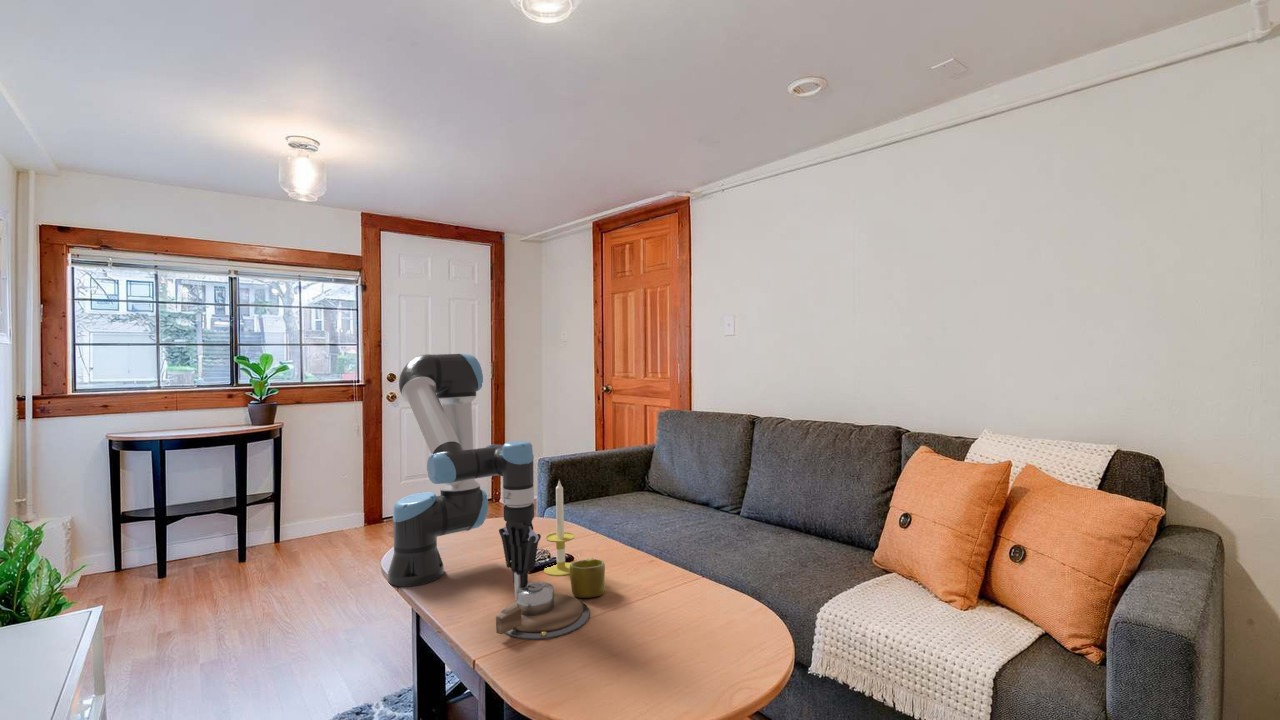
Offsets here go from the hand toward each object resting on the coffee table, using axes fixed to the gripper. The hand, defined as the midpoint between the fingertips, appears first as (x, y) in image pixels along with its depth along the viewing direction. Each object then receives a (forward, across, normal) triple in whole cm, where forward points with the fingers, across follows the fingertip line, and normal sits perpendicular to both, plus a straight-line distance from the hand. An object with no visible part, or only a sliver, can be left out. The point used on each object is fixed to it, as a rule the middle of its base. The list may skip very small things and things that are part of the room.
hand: (520, 597), depth 143 cm
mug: (+3, +7, +18) cm, 20 cm away
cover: (+1, +5, 0) cm, 5 cm away
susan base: (+3, +8, 0) cm, 9 cm away
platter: (+2, +8, -2) cm, 9 cm away
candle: (+3, -10, +25) cm, 27 cm away
